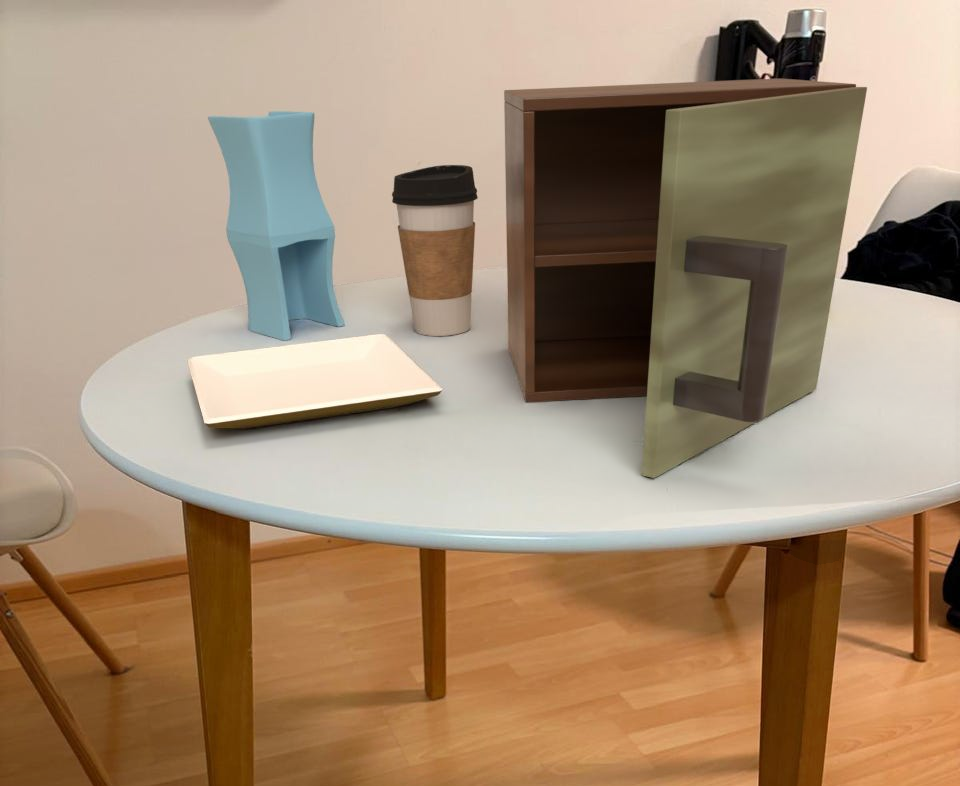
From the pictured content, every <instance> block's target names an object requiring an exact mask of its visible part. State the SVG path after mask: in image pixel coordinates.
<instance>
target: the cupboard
mask: <svg viewBox="0 0 960 786" xmlns="http://www.w3.org/2000/svg"><path fill="white" fill-rule="evenodd" d="M850 87H857V84H856V83H848V82H847V83H846V82H832V81H819V80H805V79H792V78H758V79H756V78H755V79H733V80H710V81H689V82H688V81H687V82H686V81H685V82H666V83H664V82H663V83H662V82H661V83H641V84H618V85H616V84H615V85H596V86H595V85H594V86H591V85H590V86H570V87H552V88H551V87H548V88H545V87H544V88H524V89H523V88H522V89H504V91H503V101H504V102H503V104H504V107H503V110H504V111H503V112H504V114H503V115H504V163H505V165H504V167H505V223H506V224H505V225H506V230H505V231H506V280H507V282H506V283H507V284H506V286H507V287H506V288H507V337H508V338H507V340H508V341H507V342H508V344H507V345H508V347H507V348H508V352H509V355H510V358H511V362H512V364H513V368H514V371H515V374H516V376H517V380H518V383H519V386H520V389H521V392H522V395H523V398H524V402H525V403H538V402H556V401H560V402H561V401H576V400H577V401H578V400H593V399H594V400H595V399H613V398H629V397H630V398H631V397H632V398H633V397H647V388H648V373H649V358H650V343H651V328H652V313H653V298H654V283H655V268H656V253H657V238H658V223H659V208H660V193H661V178H662V163H663V148H664V133H665V118H666V110H670V109H678V108H686V107H695V106H703V105H711V104H719V103H727V102H735V101H744V100H752V99H760V98H768V97H776V96H785V95H793V94H801V93H809V92H817V91H825V90H834V89H842V88H850Z"/></svg>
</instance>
